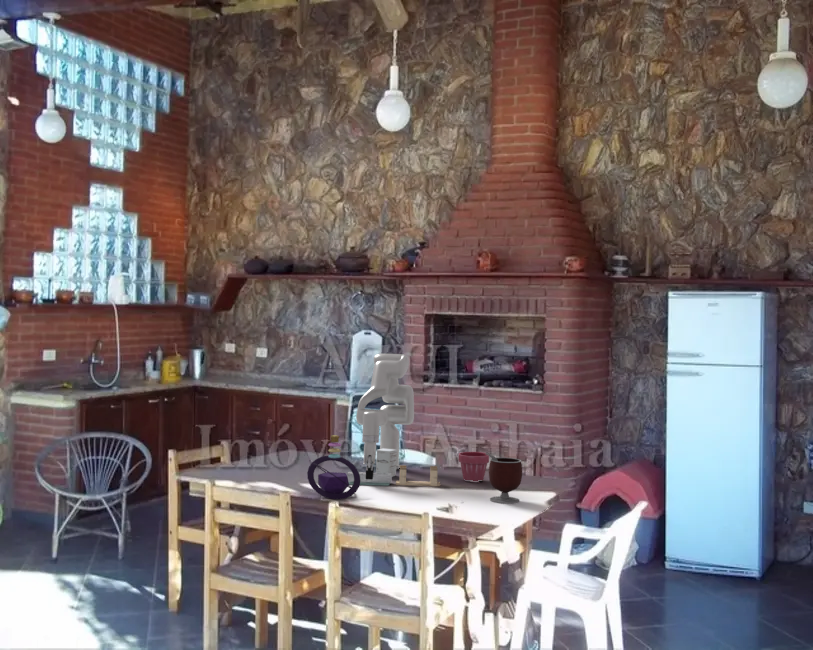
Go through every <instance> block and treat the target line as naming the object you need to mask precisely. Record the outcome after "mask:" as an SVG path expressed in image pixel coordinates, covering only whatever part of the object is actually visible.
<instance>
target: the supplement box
mask: <svg viewBox="0 0 813 650" xmlns="http://www.w3.org/2000/svg"><path fill="white" fill-rule="evenodd" d="M396 457H397V450H394V449H385V448H383V449H380V448H379V449H376V459H375V462H376V465H375V473H392V478H393V477H395V476H397V474H396V473H397V469H396Z"/></svg>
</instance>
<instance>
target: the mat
mask: <svg viewBox="0 0 813 650" xmlns="http://www.w3.org/2000/svg"><path fill="white" fill-rule="evenodd" d="M353 483H354V482H349V486H351V485H353ZM360 486H385V487H386V486H388V487H389V486H390V483H360Z"/></svg>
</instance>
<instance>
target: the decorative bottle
mask: <svg viewBox="0 0 813 650" xmlns="http://www.w3.org/2000/svg"><path fill="white" fill-rule="evenodd" d="M339 439H340V435H337V434H335V435H334V434H333V435H330V442H329V443H328V444H327V445H328V446H329V447H331V448H329V449H328V450H327V452H329V453H330V454H329V455H324V456H322V455H321V456H320V457H318V458H315V459H314V460H313V461H312V462H311V463H310V465H309V466H308V469H307V480H308V484H309V485H310V486H311V488H312V490H314V491H315V493H317V494H318V495H320V496H322V497H324V498H327V499H330V500H343V499H347V498H350V497H352V496H353V495H354V494H355V493H357V491H358V490H359V488H360V486H361V485H360V474H359V472H360V471H359V469H357V467H356V466H355V464H354V463H352V462H351V461H350V460H349V459H347V458H344V457H342V456H341V455H340V454H338V453H341V452H342V451H341V449H340V448H336V447H341V446H342V444H341V443H340V441H339ZM333 447H334V448H333ZM329 461H333V462H334V461H336V462H339V463H341V464H343V465H345V466H346V467H347V468H349V471H350V472H352V473H353V475H354V483H353V485H352V486H351V485H349V482H348V477H347V472H342V471H343V470H342V471H341V472H334V471H328V470H327V469H325V468H324V467H322V466H321V465H320V464H321V463H324V462H329ZM317 468H318V469H320V471H322V473H319V474H318V475H317V477H318V478H317V483H316V480H315V475H314V474H315V470H316V469H317ZM347 488H349V489H347Z"/></svg>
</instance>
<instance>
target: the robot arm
mask: <svg viewBox="0 0 813 650" xmlns="http://www.w3.org/2000/svg"><path fill="white" fill-rule="evenodd" d="M373 364H374V365H373V370H372V376H371V381H370V382H371V383H370V384H371V385H370V388H369V389H368V390H367V391H366V392H365V393H364V394H363V395H362V396H361V397H360V399H359V401H358V405H357V408H356V409H357V410H356V418H355V420H356V423H357V424H358V425H360V426H362V436H361V437H362V440H361V441H362V443H364V446H363V465H366V467H365V468H366V470H365V472H366V479H370V480H372V479H373V473H375V471H374V470H375V467H374V465H375V462H376V458H377V444H378V443H380V445H379V449H383V448H385V449H394V450H397V457H396V470H400V469H399V468H400V465H401V464H400V463H399V462H400V458H399V457H400V430H399V429H398V428H397V426H396V425H404V426H405V425H406V426H407V425H408V426H409V425H412V424H413V423H414V420H415V396H414V394H415V393H414V388H413V387H412V386H411V385H409V384H400V383H399V379H402V378H404V376H405V375H406V373H407V371H408V370H409V367H410V358H409V356H408V355H407V354H403V353H401V354H400V353H378V354H375V355H374V357H373ZM380 398H382V401H383V402H384V403H387V404H384V405H381V407H380V409H373V408H371V409H370V408H366V406H367V405H368V404H369V403H371V402H372V401H374V400H377V399H380Z"/></svg>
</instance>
